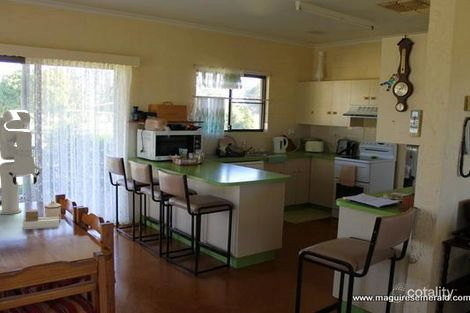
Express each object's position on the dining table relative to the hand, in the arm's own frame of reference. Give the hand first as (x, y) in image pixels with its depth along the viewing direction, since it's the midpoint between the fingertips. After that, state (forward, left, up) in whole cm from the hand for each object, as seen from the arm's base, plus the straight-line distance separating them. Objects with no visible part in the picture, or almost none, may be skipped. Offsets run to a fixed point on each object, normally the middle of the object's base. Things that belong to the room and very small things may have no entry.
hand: (25, 184), depth 232 cm
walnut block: (+1, +3, -23) cm, 23 cm away
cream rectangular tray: (+1, +8, -24) cm, 25 cm away
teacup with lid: (-12, +14, -24) cm, 30 cm away
